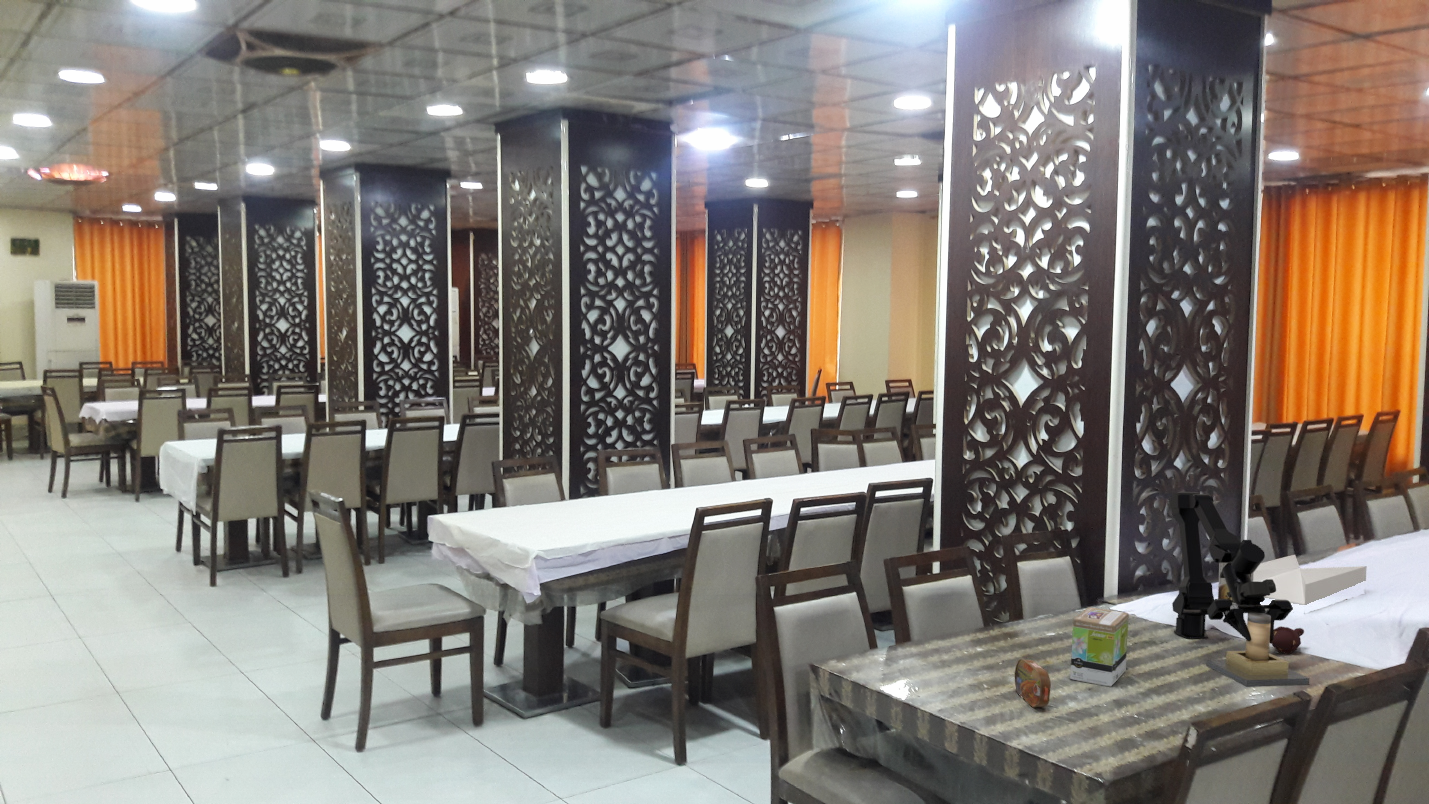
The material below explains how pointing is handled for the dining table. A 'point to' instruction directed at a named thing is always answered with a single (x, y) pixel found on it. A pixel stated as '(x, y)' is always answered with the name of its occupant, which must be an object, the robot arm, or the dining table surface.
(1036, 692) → the tin
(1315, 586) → the building model
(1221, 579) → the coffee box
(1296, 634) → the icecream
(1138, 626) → the dining table surface
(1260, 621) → the tan cylinder
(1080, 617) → the tea box
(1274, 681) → the socket
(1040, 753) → the dining table surface
